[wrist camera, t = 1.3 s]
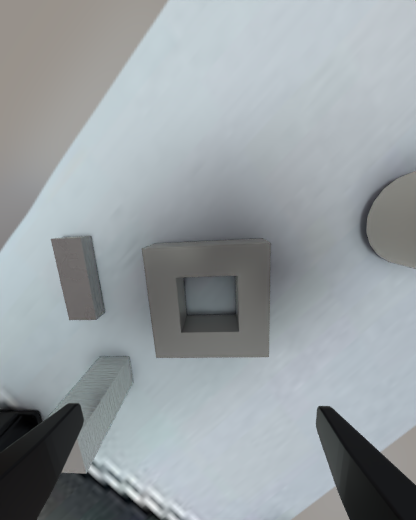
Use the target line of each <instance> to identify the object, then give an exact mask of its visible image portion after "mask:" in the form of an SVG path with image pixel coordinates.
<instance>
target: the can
mask: <svg viewBox="0 0 416 520" xmlns="http://www.w3.org/2000/svg"><path fill="white" fill-rule="evenodd" d="M366 232H367V236H368V240H369V243H370V245H371V247H372V248H373V249H374V251H375V252H376V253H377V255H379V256H380V257H382V258H384V259H385V260H387V261H388V262H392V263H396V264H399V265H403V266H407V267H411V268H414V269H416V171H414V172H412V173H409V174H407V175H404V176H402V177H400V178H397V179H396V180H395V181H393V182H392V183H391V184H389V185H388V186H387V187H386V188H384V189H383V190H382V192H381V193H380V194H379V196H378V197H377V198H376V200H375V201H374V202H373V204H372V207H371V209H370V212H369V214H368V217H367V229H366Z"/></svg>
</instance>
